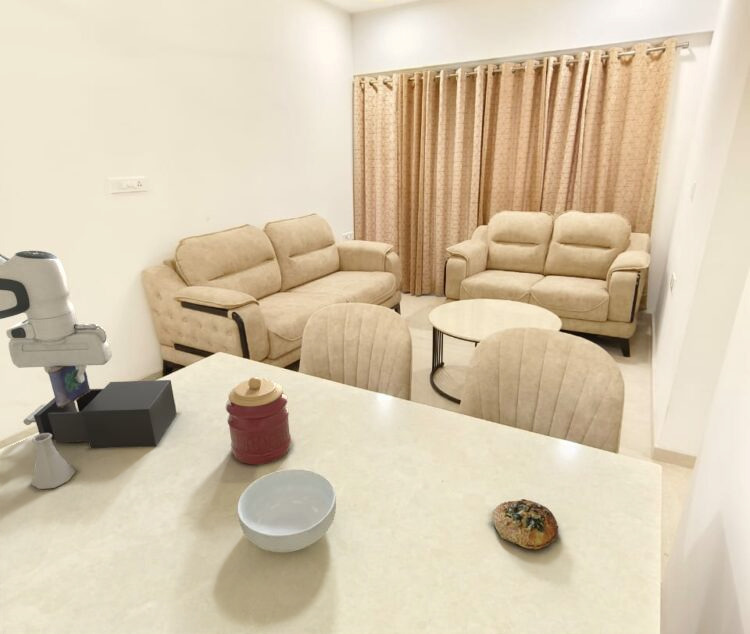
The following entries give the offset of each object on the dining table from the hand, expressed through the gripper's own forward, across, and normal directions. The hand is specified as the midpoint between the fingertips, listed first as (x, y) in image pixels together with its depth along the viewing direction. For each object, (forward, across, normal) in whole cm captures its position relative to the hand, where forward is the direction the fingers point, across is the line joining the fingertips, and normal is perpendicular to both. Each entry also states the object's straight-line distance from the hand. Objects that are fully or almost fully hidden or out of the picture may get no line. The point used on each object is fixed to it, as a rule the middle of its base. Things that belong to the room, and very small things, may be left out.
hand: (69, 382), depth 114 cm
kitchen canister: (+14, -44, +10) cm, 47 cm away
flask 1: (+4, 0, 0) cm, 4 cm away
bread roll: (+14, -94, +38) cm, 102 cm away
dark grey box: (+13, -12, 0) cm, 18 cm away
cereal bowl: (+14, -53, +36) cm, 65 cm away
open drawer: (+12, +1, 0) cm, 12 cm away
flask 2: (+14, -3, +18) cm, 23 cm away
